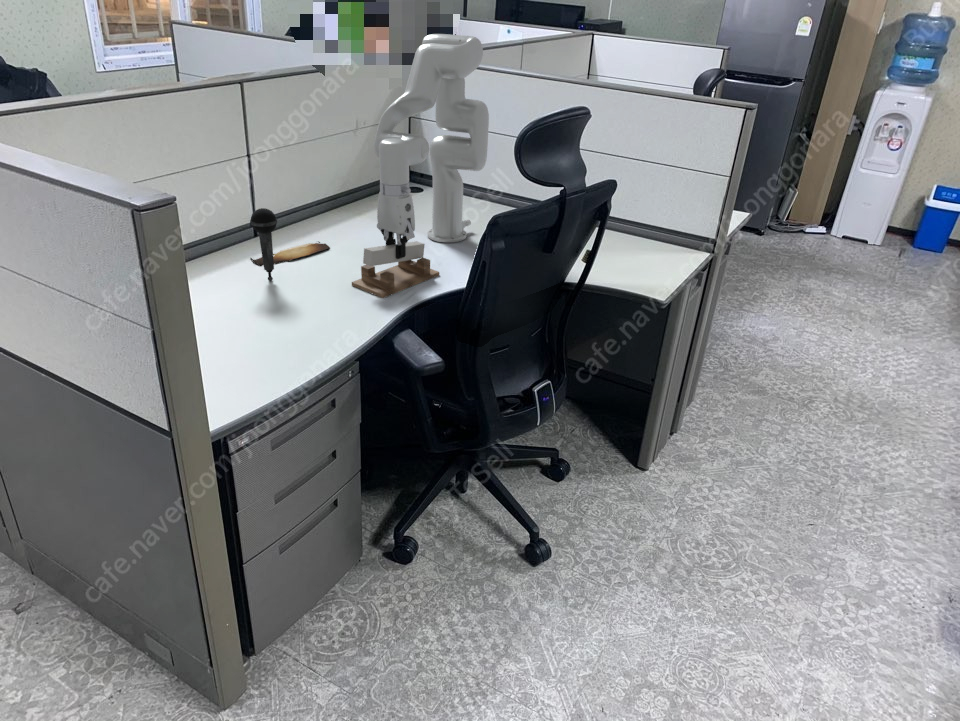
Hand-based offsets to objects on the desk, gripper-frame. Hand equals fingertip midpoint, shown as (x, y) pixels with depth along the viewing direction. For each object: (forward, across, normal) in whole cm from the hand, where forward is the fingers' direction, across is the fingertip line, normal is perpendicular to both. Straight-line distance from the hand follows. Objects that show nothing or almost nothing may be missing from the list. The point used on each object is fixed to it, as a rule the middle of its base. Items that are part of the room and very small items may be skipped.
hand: (395, 255), depth 195 cm
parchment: (+8, +36, +7) cm, 37 cm away
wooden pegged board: (+7, 0, 0) cm, 7 cm away
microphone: (+8, +24, +24) cm, 35 cm away
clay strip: (+1, 0, +1) cm, 1 cm away
